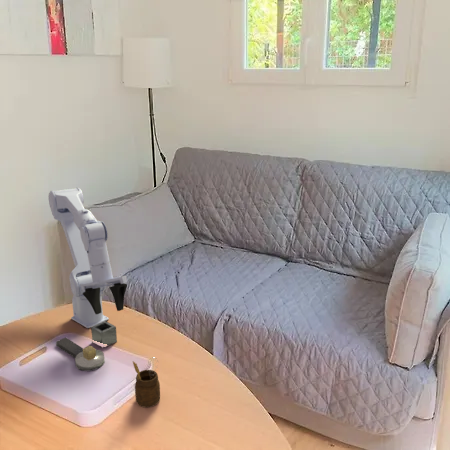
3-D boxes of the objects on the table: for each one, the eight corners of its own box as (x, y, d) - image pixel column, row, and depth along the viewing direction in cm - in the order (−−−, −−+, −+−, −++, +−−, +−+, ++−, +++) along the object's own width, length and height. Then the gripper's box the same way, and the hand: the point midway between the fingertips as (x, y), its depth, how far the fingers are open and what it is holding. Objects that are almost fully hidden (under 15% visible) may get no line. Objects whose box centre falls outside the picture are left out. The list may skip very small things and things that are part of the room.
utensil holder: (165, 400, 123) (163, 357, 120) (143, 412, 119) (141, 367, 116) (151, 389, 128) (149, 347, 124) (129, 400, 123) (127, 357, 120)
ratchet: (49, 348, 145) (47, 335, 144) (72, 338, 150) (71, 325, 149) (86, 374, 134) (85, 359, 132) (110, 362, 139) (109, 348, 138)
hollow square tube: (92, 342, 149) (91, 327, 147) (106, 335, 152) (105, 320, 151) (102, 348, 145) (101, 333, 144) (116, 341, 149) (115, 326, 147)
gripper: (70, 270, 144) (80, 318, 143) (112, 262, 138) (122, 311, 138) (86, 267, 150) (95, 312, 150) (127, 259, 145) (136, 306, 144)
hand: (109, 311), depth 144 cm, fingers open, 7 cm apart
